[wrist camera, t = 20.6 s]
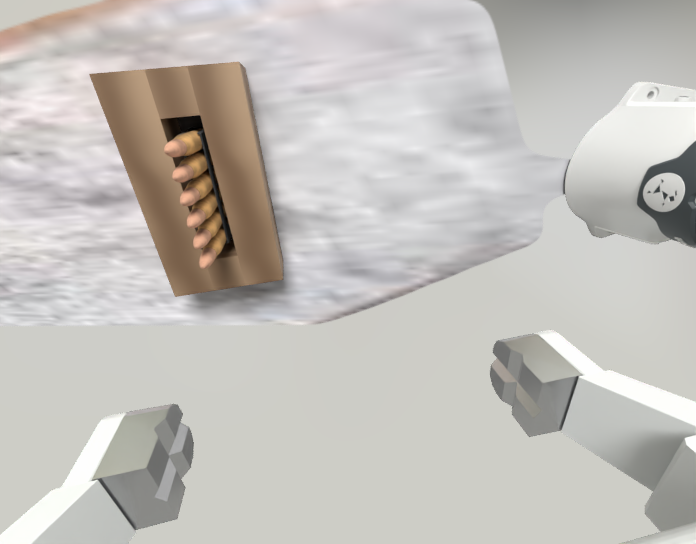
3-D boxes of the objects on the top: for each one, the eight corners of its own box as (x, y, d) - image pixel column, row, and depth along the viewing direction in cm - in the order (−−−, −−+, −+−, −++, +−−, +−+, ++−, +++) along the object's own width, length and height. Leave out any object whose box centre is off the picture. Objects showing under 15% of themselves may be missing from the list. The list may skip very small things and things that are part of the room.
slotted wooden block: (245, 68, 31) (238, 61, 27) (283, 260, 40) (283, 279, 36) (117, 78, 30) (89, 74, 25) (187, 275, 39) (175, 296, 34)
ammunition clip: (235, 228, 37) (217, 276, 27) (219, 230, 37) (193, 280, 27) (211, 126, 33) (176, 135, 22) (191, 127, 32) (147, 138, 22)
